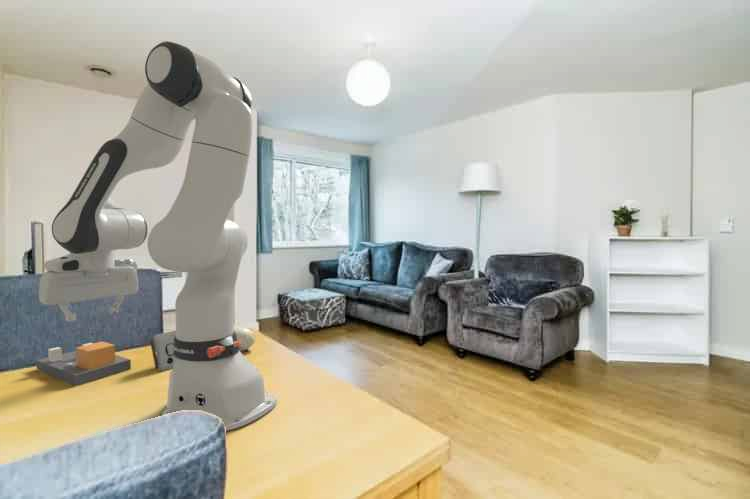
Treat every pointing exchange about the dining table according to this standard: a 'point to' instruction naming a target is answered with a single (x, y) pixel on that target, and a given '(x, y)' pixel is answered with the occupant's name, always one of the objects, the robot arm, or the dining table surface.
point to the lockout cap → (95, 355)
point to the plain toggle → (55, 354)
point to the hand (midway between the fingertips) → (93, 316)
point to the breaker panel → (80, 369)
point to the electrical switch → (163, 350)
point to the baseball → (245, 338)
